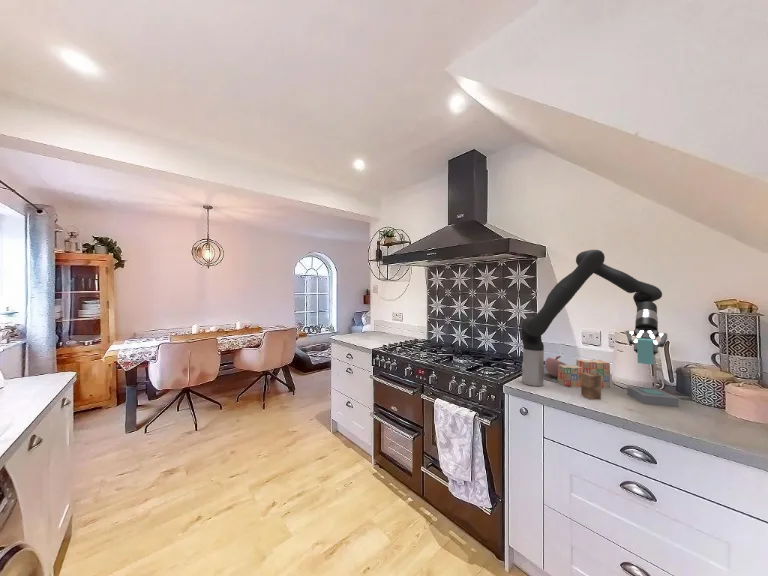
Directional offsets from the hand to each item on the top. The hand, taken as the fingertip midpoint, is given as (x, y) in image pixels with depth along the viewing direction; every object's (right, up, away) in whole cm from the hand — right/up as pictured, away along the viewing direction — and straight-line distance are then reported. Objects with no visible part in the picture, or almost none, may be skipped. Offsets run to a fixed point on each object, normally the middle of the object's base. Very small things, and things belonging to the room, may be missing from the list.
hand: (645, 352), depth 125 cm
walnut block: (-20, -21, +5) cm, 29 cm away
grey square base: (+4, -21, +2) cm, 22 cm away
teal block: (+1, -5, +1) cm, 5 cm away
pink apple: (-16, -21, +36) cm, 45 cm away
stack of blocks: (-12, -21, +22) cm, 33 cm away
